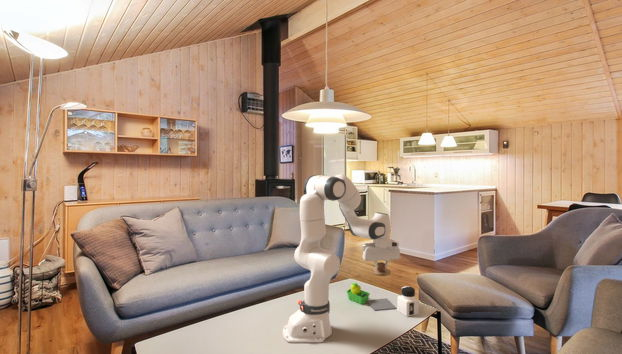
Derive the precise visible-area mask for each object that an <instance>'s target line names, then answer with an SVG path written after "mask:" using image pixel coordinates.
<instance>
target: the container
mask: <svg viewBox="0 0 622 354" xmlns="http://www.w3.org/2000/svg"><path fill="white" fill-rule="evenodd" d="M415 296H416V289H415V288H414V287H412V286H408V285H405V286H403V287H401V295H399V296H397V297H396V298H397V300H396V301H397V304H396V305H397V306H396V309H397V311H398V313H400V314H402V315H403V316H404V317H406V318H408V317H412V316H416V315H419V313H420V312H419V311H420V310H419V308H420V299H418V298H417V297H415Z"/></svg>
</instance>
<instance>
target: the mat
mask: <svg viewBox="0 0 622 354" xmlns="http://www.w3.org/2000/svg"><path fill="white" fill-rule="evenodd" d="M366 303H367V304H368V305H369V306H370V307H371V308H372V310H374V312H376V311H387V310H388V311H389V310H396V309H397V306H395V305H394V304H393V303H392V302H391V301H390V300H389V299H388V298H387V297H386V298H375V299H374V298H373V299H368V301H367V302H366Z"/></svg>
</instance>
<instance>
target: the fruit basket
mask: <svg viewBox="0 0 622 354" xmlns="http://www.w3.org/2000/svg"><path fill="white" fill-rule="evenodd" d="M346 294H347V296H348V297H347V298H348V300H349V301H352V302H354V303H355V304H358V303H359V304H358V305H361V306H362V305H364V304H366V303H368V302H367V301H368V300H369V296H370V292H368V291H366V290H362V288H361V286H360V285H359V284H357V282H353V283H351V285H350V289H347V290H346Z"/></svg>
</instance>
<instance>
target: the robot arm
mask: <svg viewBox="0 0 622 354" xmlns="http://www.w3.org/2000/svg"><path fill="white" fill-rule="evenodd" d="M325 201H332V202H335V201H337V202H338V206H339V207H338V208H339V210H340V211H341V213H342V215H343V217H344V219H345V221H346V223H347V226H348V229H349V232H350V234H351V235H352V236H353V237H360V238H364V239H369V240H373V241H372V242H369V243H368V242H367V243H364V244H363V245H362V250H363V251H362V259H363V260H364V261H365V262H370V261H371V262H373V264H374V268H376V269H378V268H379V265H378V264H377V263H378V261H385V262H384V263H385V268H386V269H388V265H389V263H390V261H391V260H400V258H401V249H400V247H399V246H400V244H399V242H398V241H397V240H394V239H391V235H390V232H391V219H390V218H391V217H390V215H389V214H388V213H385V212H384V213H383V212H380V211H379V212H374V216H373V217H372V218H370V219H365V218H363V217H362V218H361V217H359V216H358V215H357V214H356V212H355V210H356V209H357V208H358V207H359V206H360V204H361V201H362V195H361V193H360V191H359V189H358V188H357V187H356V186H355V184H354V182H353V181H352V180H351V179H350V178H349V177H348V176H347V175H345V174H343V173H338V174H336V175H334V176H330V175H327V174H326V175H325V174H324V175H321V174H320V175H319V174H317V175H316V174H314V175H310V176H308V177H307V178H306V179H305V180H304V183H303V195H302V196H301V197H300V200H299V222H300V223H299V224H300V234H301V235H300V236H301V237H300V242H299V245H298V246H297V247H296V249H295V251H294V254H293V255H294V256H293V258H294V260H295V262H296V263H297V264H299V265H300V266H301V267H302V268H304V269H306V270H308V271H310V277H309V279H308V280H307V281H306V282H305V283H304V284H303V286H304V287H303V288H304V289H303V290H304V291H303V292H304V293H303V294H304V298H303V301H302V299H298V300H297V304H298V306H299V308H298V310H296V311H295V312H293V313H292V314H291V315H290V316H289V318H288V321H287V324H285V325H284V326H283V328H282V336H283V339H284V340H285V341H286V342H288V343H295V344H296V343H323V342H324V341H325V340H326V339H327V338H328V337H330V336H331V335H332V333H333V329H332V325H331V320H330V311H331V308H330V307H331V305H330V300H329V298H330V297H329V290H330V282H331V279H332V277H334V276H335V275H336V274H338V272H339V269H340V267H341V260H340V258H339V256H338V255H336V254H335V253H334V252H332V251H331V250H328V249H325V248H323V247H321V240H322V239H323V238H324V237H326V234H327V230H326V218H325V216H326V215H325V210H324V205H325V204H324V203H325Z"/></svg>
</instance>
